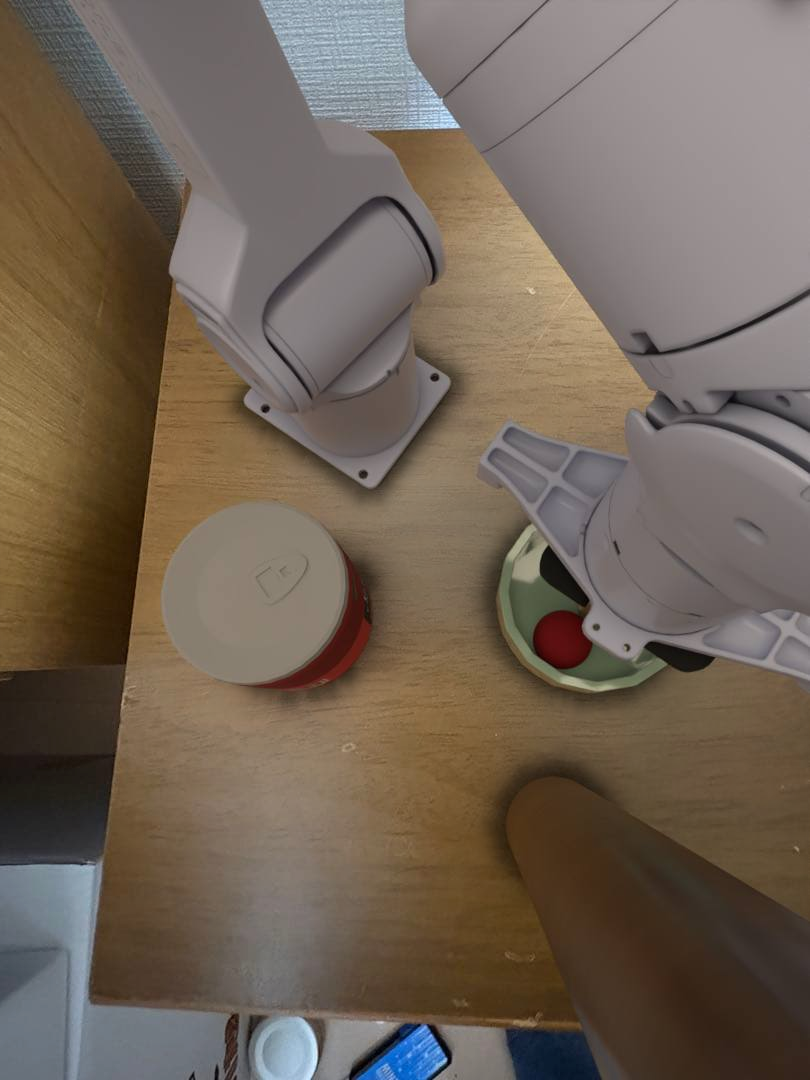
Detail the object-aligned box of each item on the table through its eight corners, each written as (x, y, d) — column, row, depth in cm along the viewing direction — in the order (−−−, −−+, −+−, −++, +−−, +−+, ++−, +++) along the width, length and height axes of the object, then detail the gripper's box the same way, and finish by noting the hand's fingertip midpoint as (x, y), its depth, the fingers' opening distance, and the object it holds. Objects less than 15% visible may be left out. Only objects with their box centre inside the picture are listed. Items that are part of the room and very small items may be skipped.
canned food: (403, 608, 43) (385, 574, 32) (306, 723, 42) (255, 727, 31) (299, 522, 44) (249, 461, 34) (204, 631, 43) (120, 604, 33)
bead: (519, 649, 42) (523, 644, 39) (550, 602, 42) (557, 594, 39) (567, 682, 41) (575, 680, 38) (598, 635, 42) (609, 629, 39)
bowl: (462, 624, 43) (463, 617, 39) (558, 486, 44) (567, 467, 40) (611, 728, 41) (625, 729, 38) (706, 581, 42) (728, 570, 39)
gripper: (424, 494, 23) (436, 572, 37) (868, 791, 21) (709, 760, 34) (554, 314, 24) (520, 453, 38) (995, 576, 22) (792, 627, 35)
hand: (616, 591), depth 36 cm, fingers closed
